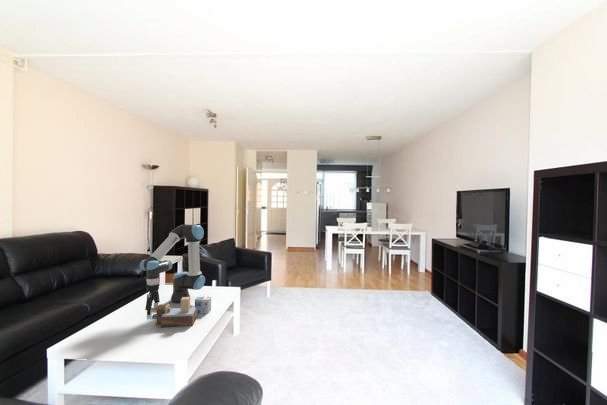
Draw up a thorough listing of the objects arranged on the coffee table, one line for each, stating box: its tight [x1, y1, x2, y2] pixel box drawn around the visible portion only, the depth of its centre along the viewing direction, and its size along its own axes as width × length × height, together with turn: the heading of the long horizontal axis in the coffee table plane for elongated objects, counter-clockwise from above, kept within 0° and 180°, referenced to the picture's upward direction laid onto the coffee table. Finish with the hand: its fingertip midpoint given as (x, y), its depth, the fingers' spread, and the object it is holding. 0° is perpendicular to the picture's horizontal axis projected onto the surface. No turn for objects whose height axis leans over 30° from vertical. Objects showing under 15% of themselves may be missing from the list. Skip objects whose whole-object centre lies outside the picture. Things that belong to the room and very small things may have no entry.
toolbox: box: [156, 303, 197, 328], centre depth 200 cm, size 12×24×12 cm, turn 98°
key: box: [151, 307, 172, 313], centre depth 199 cm, size 2×14×2 cm, turn 98°
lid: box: [162, 296, 196, 317], centre depth 201 cm, size 12×19×10 cm, turn 98°
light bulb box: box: [194, 295, 212, 315], centre depth 221 cm, size 11×7×11 cm, turn 88°
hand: (152, 315), depth 198 cm, fingers open, 11 cm apart
